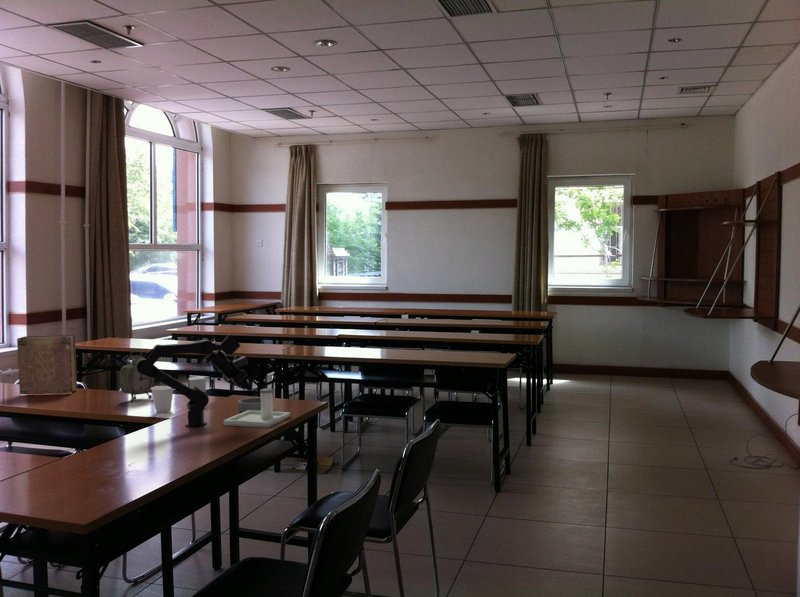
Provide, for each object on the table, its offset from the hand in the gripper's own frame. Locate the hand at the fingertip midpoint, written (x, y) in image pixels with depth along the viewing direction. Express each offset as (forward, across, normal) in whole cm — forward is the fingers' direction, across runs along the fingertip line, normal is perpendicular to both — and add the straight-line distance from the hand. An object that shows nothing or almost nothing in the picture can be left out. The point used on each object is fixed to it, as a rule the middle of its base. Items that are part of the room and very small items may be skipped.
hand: (247, 389), depth 294 cm
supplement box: (0, +46, +15) cm, 48 cm away
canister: (+14, -4, +3) cm, 14 cm away
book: (-42, +118, +57) cm, 138 cm away
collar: (+14, +20, +1) cm, 25 cm away
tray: (+11, -4, +7) cm, 14 cm away
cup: (-10, +38, +28) cm, 48 cm away
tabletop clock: (-16, +74, +31) cm, 81 cm away
